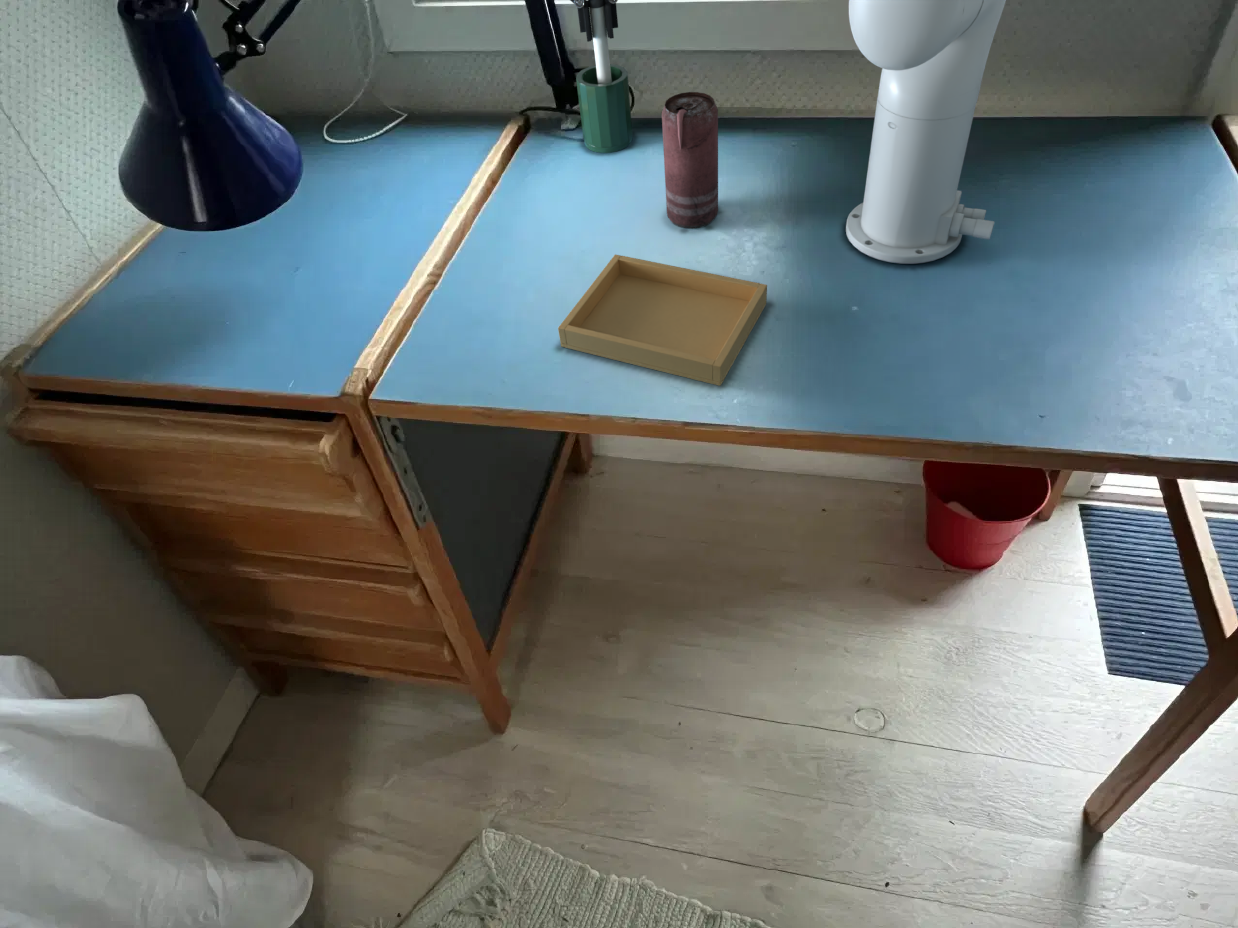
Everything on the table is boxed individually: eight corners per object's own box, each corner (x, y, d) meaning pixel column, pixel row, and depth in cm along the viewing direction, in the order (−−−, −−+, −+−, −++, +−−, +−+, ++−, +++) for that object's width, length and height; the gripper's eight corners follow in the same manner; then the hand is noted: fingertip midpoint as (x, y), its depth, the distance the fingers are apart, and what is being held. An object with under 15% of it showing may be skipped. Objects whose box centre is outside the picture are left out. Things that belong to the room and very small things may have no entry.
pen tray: (766, 304, 92) (767, 284, 90) (720, 386, 84) (720, 366, 83) (616, 272, 98) (614, 254, 97) (560, 346, 90) (557, 327, 89)
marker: (617, 103, 115) (605, -15, 105) (610, 110, 114) (598, -9, 104) (603, 101, 116) (591, -16, 106) (597, 108, 115) (583, -10, 104)
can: (662, 230, 103) (655, 116, 93) (672, 201, 107) (667, 88, 97) (713, 233, 102) (712, 117, 92) (721, 203, 106) (721, 90, 96)
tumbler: (640, 132, 120) (635, 67, 113) (619, 156, 116) (613, 89, 109) (597, 126, 122) (590, 61, 116) (576, 149, 118) (567, 83, 112)
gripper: (508, -120, 93) (537, 56, 106) (657, -140, 93) (666, 39, 106) (509, -138, 98) (536, 32, 111) (649, -157, 98) (659, 16, 111)
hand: (599, 34), depth 109 cm, fingers closed on marker, 2 cm apart
